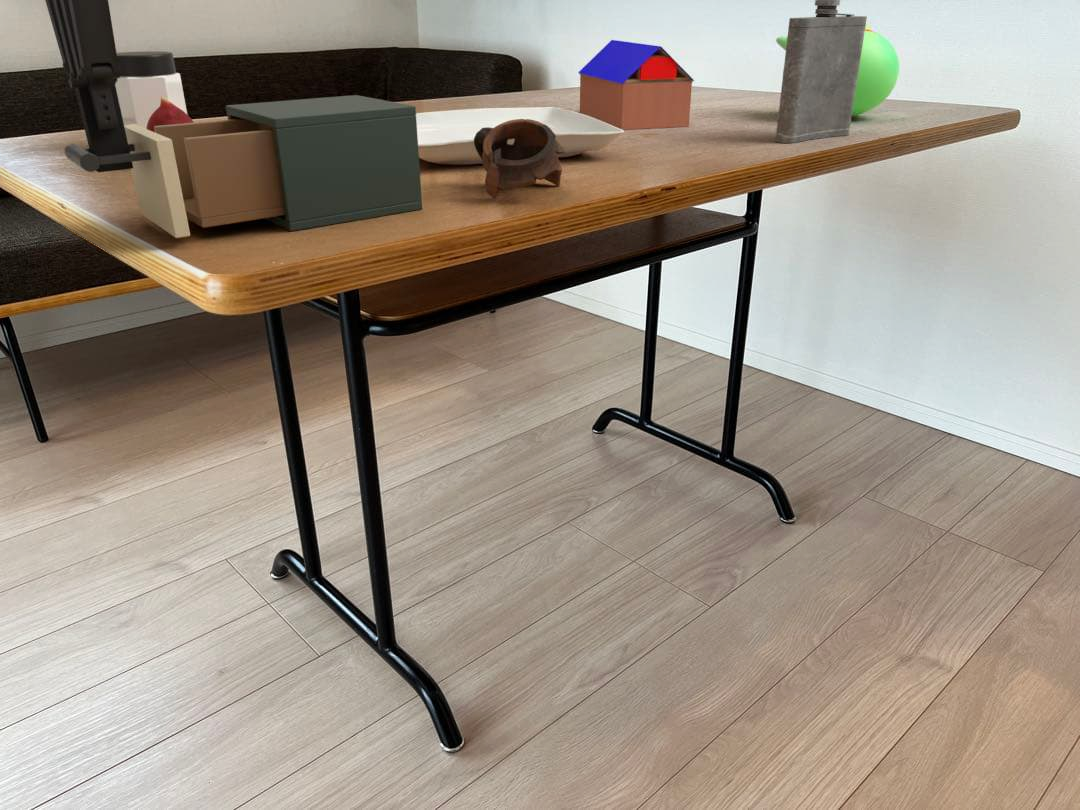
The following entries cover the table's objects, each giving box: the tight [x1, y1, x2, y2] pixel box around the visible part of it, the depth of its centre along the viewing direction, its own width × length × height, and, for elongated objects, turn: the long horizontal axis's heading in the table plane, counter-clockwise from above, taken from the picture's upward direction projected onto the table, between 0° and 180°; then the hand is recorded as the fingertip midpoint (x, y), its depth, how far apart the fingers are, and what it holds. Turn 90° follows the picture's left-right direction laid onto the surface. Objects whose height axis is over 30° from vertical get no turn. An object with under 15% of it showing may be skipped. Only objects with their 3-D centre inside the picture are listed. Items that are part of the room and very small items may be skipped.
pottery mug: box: [474, 119, 565, 200], centre depth 88 cm, size 12×10×8 cm
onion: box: [147, 97, 195, 132], centre depth 101 cm, size 6×6×8 cm
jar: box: [115, 51, 188, 129], centre depth 112 cm, size 9×8×12 cm
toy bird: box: [775, 24, 900, 117], centre depth 136 cm, size 18×17×15 cm
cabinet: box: [225, 94, 423, 232], centre depth 80 cm, size 14×12×10 cm
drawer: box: [64, 118, 285, 239], centre depth 73 cm, size 18×11×8 cm, turn 128°
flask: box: [774, 0, 868, 144], centre depth 116 cm, size 4×14×18 cm, turn 124°
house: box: [577, 39, 695, 131], centre depth 135 cm, size 12×20×12 cm, turn 17°
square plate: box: [416, 106, 625, 166], centre depth 111 cm, size 27×27×4 cm
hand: (113, 168), depth 69 cm, fingers closed
